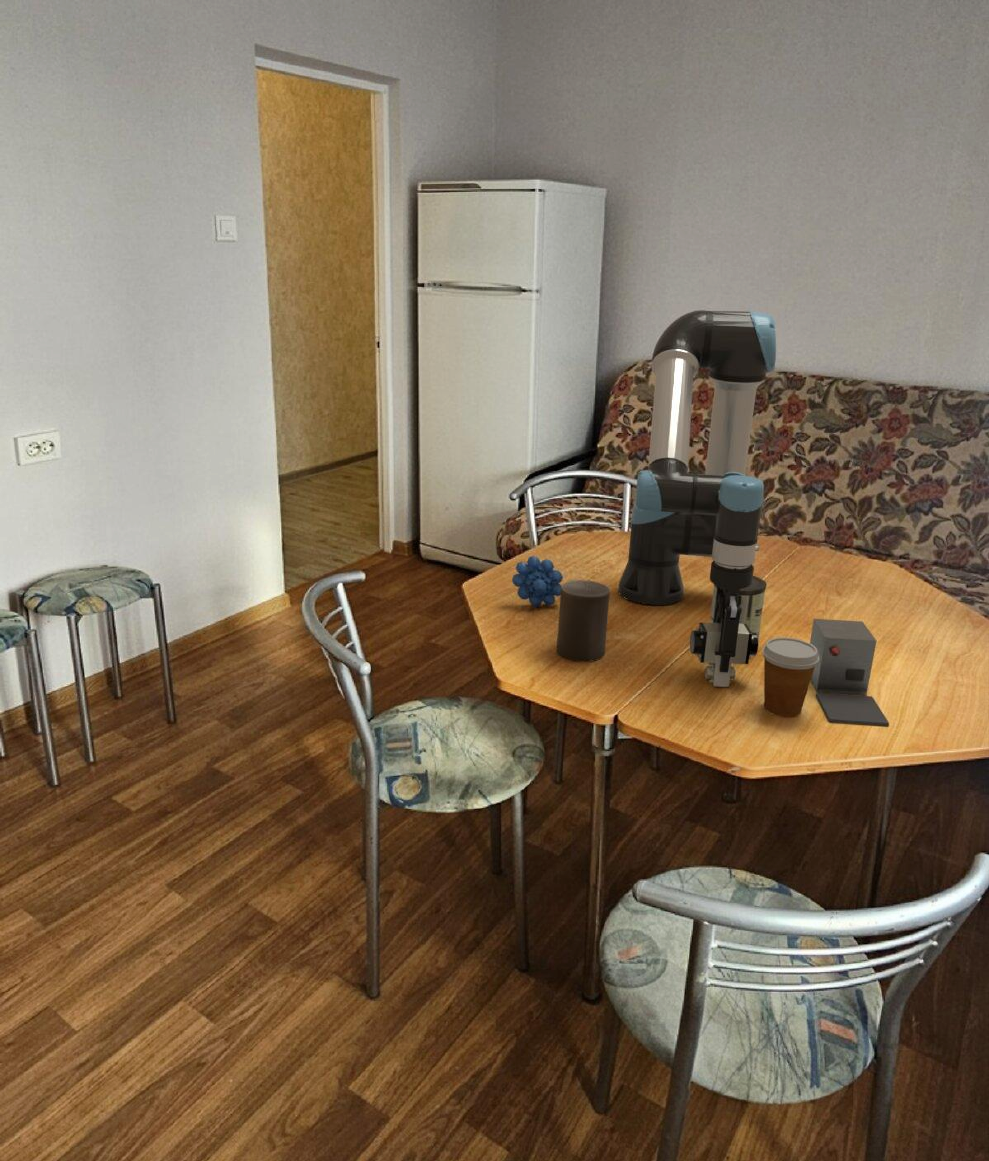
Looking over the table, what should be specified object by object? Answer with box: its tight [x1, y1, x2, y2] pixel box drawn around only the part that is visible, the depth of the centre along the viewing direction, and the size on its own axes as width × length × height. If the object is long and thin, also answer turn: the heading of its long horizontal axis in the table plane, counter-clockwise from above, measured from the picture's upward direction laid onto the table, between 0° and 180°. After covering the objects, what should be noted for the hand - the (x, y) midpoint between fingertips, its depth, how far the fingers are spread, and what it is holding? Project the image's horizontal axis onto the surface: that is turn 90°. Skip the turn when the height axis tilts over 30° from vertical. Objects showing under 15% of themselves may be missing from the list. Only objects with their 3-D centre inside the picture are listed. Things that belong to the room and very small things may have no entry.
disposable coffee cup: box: [761, 637, 820, 718], centre depth 159 cm, size 10×10×12 cm
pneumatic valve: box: [689, 622, 759, 685], centre depth 169 cm, size 6×12×12 cm, turn 89°
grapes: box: [511, 555, 564, 607], centre depth 201 cm, size 12×7×12 cm, turn 96°
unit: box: [809, 618, 877, 696], centre depth 169 cm, size 9×10×11 cm
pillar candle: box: [556, 579, 611, 662], centre depth 179 cm, size 10×10×15 cm
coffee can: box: [709, 575, 767, 642], centre depth 184 cm, size 10×10×14 cm
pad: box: [815, 692, 890, 727], centre depth 161 cm, size 10×10×1 cm
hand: (718, 678), depth 171 cm, fingers closed on pneumatic valve, 5 cm apart
